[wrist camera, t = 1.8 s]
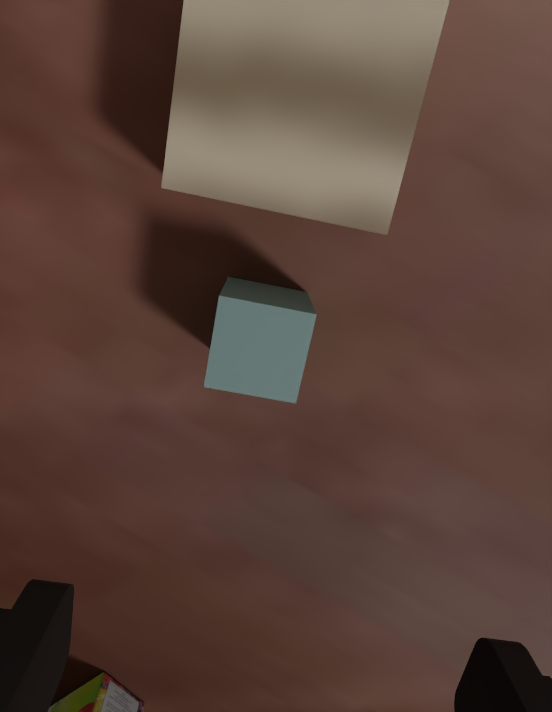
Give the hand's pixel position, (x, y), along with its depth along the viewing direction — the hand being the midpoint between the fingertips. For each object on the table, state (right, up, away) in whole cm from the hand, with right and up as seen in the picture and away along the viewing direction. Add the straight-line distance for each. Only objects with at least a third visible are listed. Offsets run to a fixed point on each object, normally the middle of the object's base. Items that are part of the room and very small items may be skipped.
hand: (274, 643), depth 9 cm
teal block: (-1, +8, +21) cm, 23 cm away
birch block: (+1, +20, +17) cm, 26 cm away
